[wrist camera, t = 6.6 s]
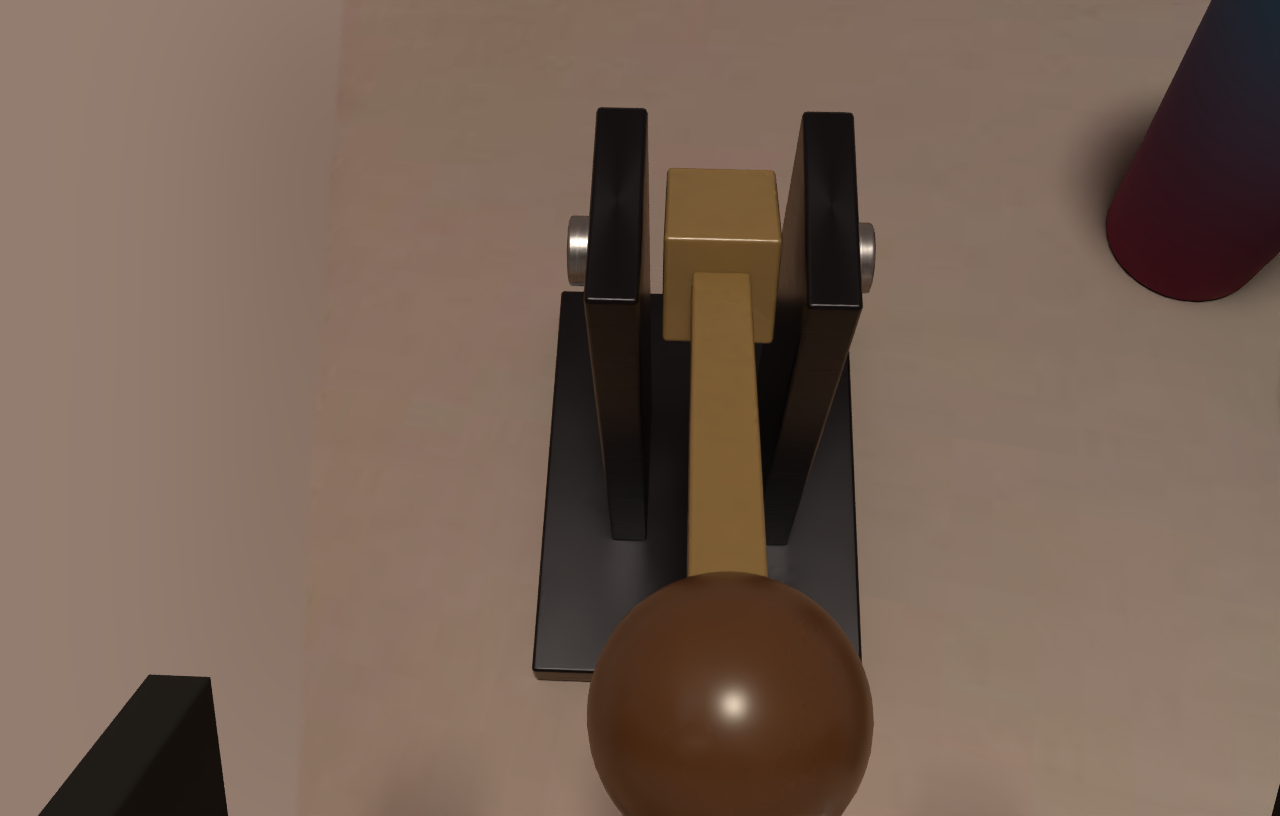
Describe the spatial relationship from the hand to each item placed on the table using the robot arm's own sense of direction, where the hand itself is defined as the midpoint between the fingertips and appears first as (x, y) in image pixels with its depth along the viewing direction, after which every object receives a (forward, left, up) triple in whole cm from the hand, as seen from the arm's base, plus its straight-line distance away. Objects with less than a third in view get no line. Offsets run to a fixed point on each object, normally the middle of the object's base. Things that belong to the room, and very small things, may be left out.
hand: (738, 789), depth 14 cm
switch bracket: (-2, +11, -18) cm, 21 cm away
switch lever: (-1, +5, -4) cm, 6 cm away
